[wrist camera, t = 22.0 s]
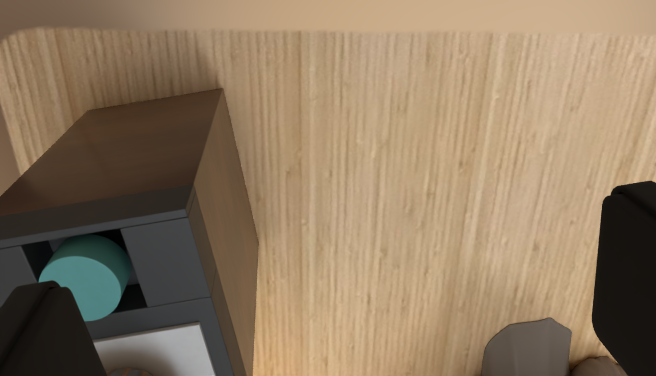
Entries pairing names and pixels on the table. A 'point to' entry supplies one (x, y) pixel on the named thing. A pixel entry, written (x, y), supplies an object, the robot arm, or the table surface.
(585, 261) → the table surface
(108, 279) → the button
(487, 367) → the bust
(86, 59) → the table surface
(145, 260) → the scale
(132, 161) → the brown box
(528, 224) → the table surface
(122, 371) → the vase
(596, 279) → the robot arm
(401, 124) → the table surface
